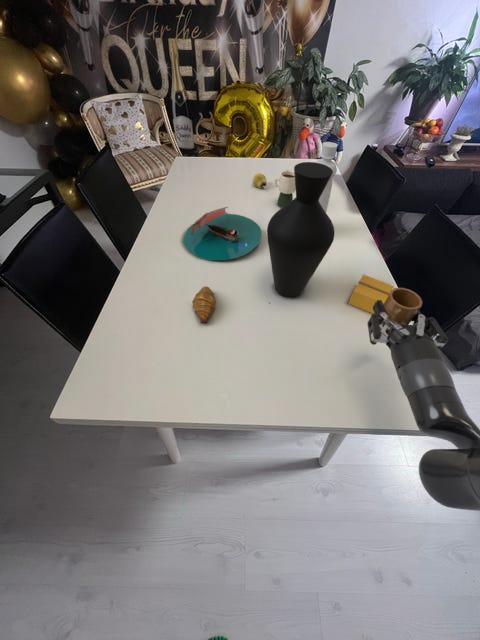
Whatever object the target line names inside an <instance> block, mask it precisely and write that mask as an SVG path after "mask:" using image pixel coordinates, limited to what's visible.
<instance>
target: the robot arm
mask: <svg viewBox="0 0 480 640" xmlns="http://www.w3.org/2000/svg"><path fill="white" fill-rule="evenodd" d="M373 311H374V314H372V313H371V316H370V318H369V319H368V321H367V323H366V324H367V330H368V337H369V343H370V344H371V345H377V344H378V343H379V344H385V345H386V346H387V348H388V349H389V350H390V357H391V360H392V363H393V366H394V369H395V371H396V374H397V378H398V380H399V383H400V387H401V389H402V391H403V393H404V395H405V397H406V398H407V401H408V404H409V407H410V410H411V412H412V416H413V418H414V421H415V424H416V426H417V428H418V430H419V431H420V432H421V433H422V434H423V435H425V436H428V437H431V438H436V439H439V440H443V441H447V442H448V443H451V444H452V445H454V446H455V447H456V448H433V449H429V450H427V451H426V452H424V454H422V456H421V458H420V461H419V463H418V475H419V480H420V482H421V484H422V486H423V488H424V490H425V491H426V493H427V494H428V495H429V496H430V497H431V498H432V499H433V500H434V501H435V502H436V503H438V504H439V505H441V506H443V507H446V508H449V509H450V508H451V509H456V510H465V511H474V512H475V511H476V512H480V427H479V426H478V425H477V424H476V423H475V422H474V421H473V419H472V418H471V416H469V414H468V412H467V410H466V408H465V405H464V404H463V402H462V400H461V397H460V395H459V393H458V391H457V388H456V385H455V382H454V380H453V377H452V375H451V373H450V372H451V371H450V370H449V369H448V366H447V364H446V362H445V360H444V358H443V356H442V354H441V352H440V350H442V349H443V347H444V346H445V345H447V343H448V342H449V340H450V339H449V337H448V335H447V334H446V333H445V331H444V330H443V328H442V327H441V326H440V324H439V323H438V321H437V320H436V318H434V317H433V316H430V317H426V316H425V315H424V314H422V312H421V310H420V309H419V310H418V312H417V313H416V315H415V316H414V318H413V319H412V320H411V322H412V324H409V325H402V324H399V323H398V322H397V321H396V320H395V319H391V318H390V317H389V316H388V315H387V314H386V310H385V308H384V305H383V302H382V300H377V302H375V304H374V306H373ZM383 320H384V321H385V322H386V324H385V323H384V322H383ZM380 327H381V329H382V330H380ZM391 327H393V328H392V330H391V331H390V328H391ZM383 333H384V334H385V335H386V336H387V337H386V336H384V334H383Z"/></svg>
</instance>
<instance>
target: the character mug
mask: <svg viewBox="0 0 480 640" xmlns="http://www.w3.org/2000/svg"><path fill="white" fill-rule="evenodd" d="M273 187H277V188H278V191H279V195H278V198H277V201H276V202H277V203H276V204H277V206H278V207H279V208H280V209H282V208H283V207H285V206H286V205H287V204H289V203H290V202H291V201H292V200H294V198H293V197H294V195H293V194H294V193H296V188H295V174H294V170H293V171H292V170H283V171H281V172H280V173H279V177H274V181H273Z"/></svg>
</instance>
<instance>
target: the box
mask: <svg viewBox="0 0 480 640" xmlns="http://www.w3.org/2000/svg"><path fill="white" fill-rule="evenodd" d="M394 287H395V285H393V284H390V283H387V282H385V281H383V280H380V279H377V278H374V277H372V276H370V275H367V274H365V273H364V274H363V275H362V276H361V278H360V279H359V280H358V282H357V285H356V286H355V288H354V290H353V291H352V294H351V296H350V299H349V301H348V304H349V305H352V306H354V307H356V308H358V309H361V310H363V311H366V312H367V313H370V314H371V315H372V314H374V311H373V306H374V304H375V302H377V300H382V302H383V304H384V302H385V300H386V298H387V297H388V295H389V293H390V291H391V290H393V289H394Z"/></svg>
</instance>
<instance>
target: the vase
mask: <svg viewBox="0 0 480 640" xmlns="http://www.w3.org/2000/svg"><path fill="white" fill-rule="evenodd" d="M315 162H316V161H315ZM315 162H313V161H304V162H300V163H297V164H295V165H294V167H293V172H294V174H295V188H296V190H295V198H293V200H292V201H291V202H290V203H289V204H287V205H286V206H285V207H283V208H279V210H277V211H276V212H275V213H274V214H273V215H272V216H271V218H270V219H269V221H268V223H267V226H266V227H267V228H266V236H267V244H268V252H269V258H270V264H271V265H270V266H271V271H272V278H273V285H274V290H275V291H276V293H277V294H278V295H279V296H281V297H283V298H286V299H293V298H297V297H299V296H301V294H302V293H303V291H304V290H305V288H306V286H307V285H308V283H309V282H310V280H311V279H312V277H313V275H314V274H315V273H316V271H317V269H318V268H319V266H320V264H321V263H322V261H323V260H324V258H325V257H326V255H327V253H328V252H329V250H330V248H331V246H332V244H333V243H334V239H335V225H334V224H333V222H332V219H331V218H330V217H329V215H328V214H327V211H326V212H325V211H324V209H323V208H322V206H321V204H320V202H319V201H318V200H319V198H320V197H321V195H322V193H323V191H324V189H325V187H326V185H327V183H328V181H329V179H330V177H331V175H332V173H333V171H332V169H331V168H330V167H328V166H326V165H324V164H321V163H315Z"/></svg>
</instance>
